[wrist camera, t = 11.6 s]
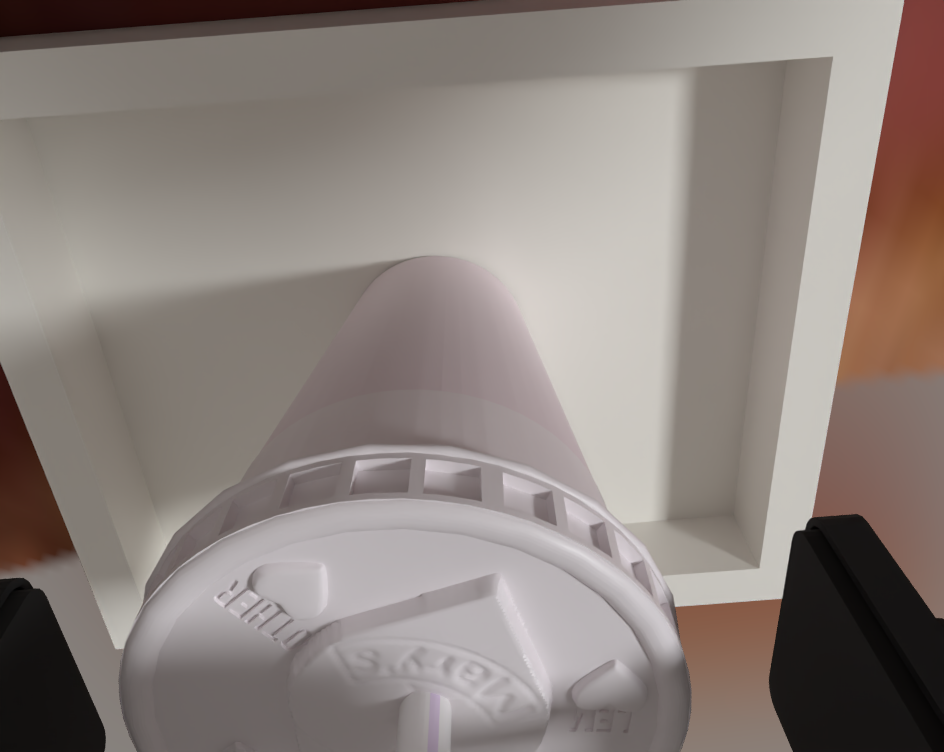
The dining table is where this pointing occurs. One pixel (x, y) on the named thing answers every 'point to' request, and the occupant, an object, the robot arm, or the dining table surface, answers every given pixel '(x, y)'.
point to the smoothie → (411, 562)
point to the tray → (444, 245)
